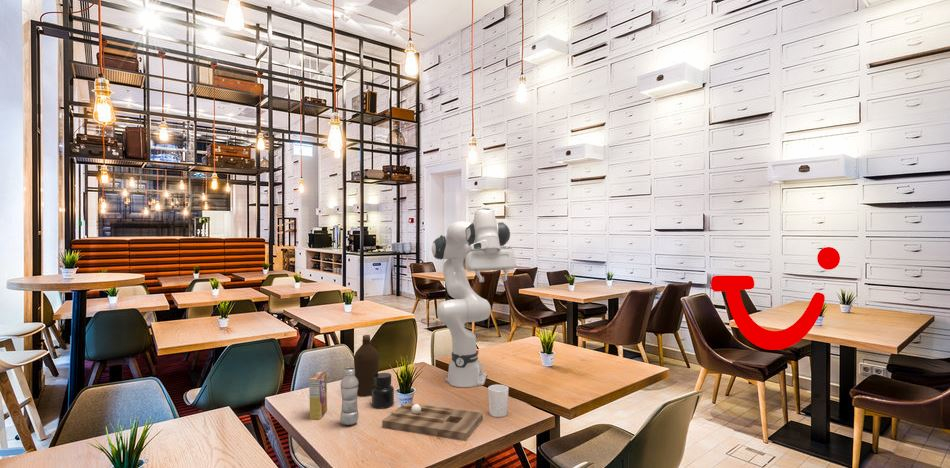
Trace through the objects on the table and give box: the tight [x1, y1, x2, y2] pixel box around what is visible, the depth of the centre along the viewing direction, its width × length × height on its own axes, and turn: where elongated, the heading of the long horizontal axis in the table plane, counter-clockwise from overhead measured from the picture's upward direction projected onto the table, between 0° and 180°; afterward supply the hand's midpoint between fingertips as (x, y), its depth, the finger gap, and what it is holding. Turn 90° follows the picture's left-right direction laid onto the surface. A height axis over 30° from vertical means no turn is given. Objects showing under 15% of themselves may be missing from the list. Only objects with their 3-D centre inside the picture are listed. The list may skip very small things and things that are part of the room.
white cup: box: [487, 384, 509, 418], centre depth 172 cm, size 8×8×10 cm
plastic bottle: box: [339, 367, 360, 426], centre depth 163 cm, size 6×7×20 cm
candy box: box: [308, 371, 328, 421], centre depth 171 cm, size 9×4×15 cm, turn 2°
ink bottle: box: [371, 372, 395, 409], centre depth 181 cm, size 10×9×12 cm
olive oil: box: [353, 334, 380, 397], centre depth 195 cm, size 11×11×25 cm
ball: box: [411, 403, 421, 414], centre depth 165 cm, size 4×4×4 cm
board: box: [381, 402, 484, 441], centre depth 163 cm, size 32×18×4 cm, turn 71°
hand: (493, 281), depth 172 cm, fingers open, 8 cm apart
